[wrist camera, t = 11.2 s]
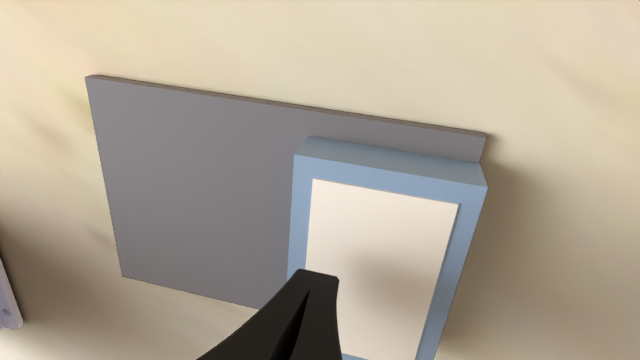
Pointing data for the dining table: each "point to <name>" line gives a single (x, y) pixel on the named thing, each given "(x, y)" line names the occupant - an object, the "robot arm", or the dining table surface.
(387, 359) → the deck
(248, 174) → the mat
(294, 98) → the dining table surface
